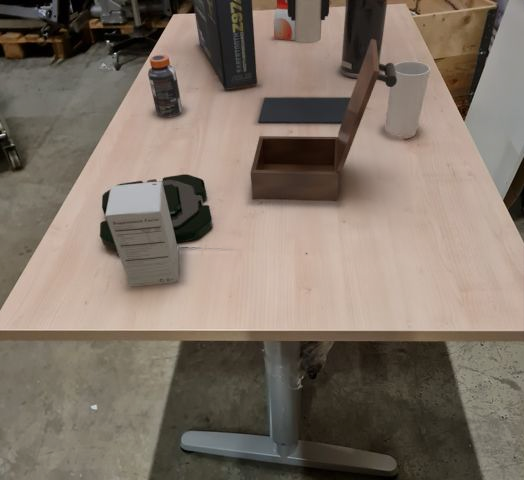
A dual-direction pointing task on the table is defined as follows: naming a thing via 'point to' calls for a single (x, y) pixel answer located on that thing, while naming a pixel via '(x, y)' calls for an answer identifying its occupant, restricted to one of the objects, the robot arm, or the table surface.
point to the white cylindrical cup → (406, 98)
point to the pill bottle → (164, 87)
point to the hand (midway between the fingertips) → (308, 18)
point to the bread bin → (295, 168)
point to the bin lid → (362, 99)
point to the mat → (303, 110)
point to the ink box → (283, 22)
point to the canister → (308, 20)
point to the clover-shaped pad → (175, 208)
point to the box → (228, 39)
